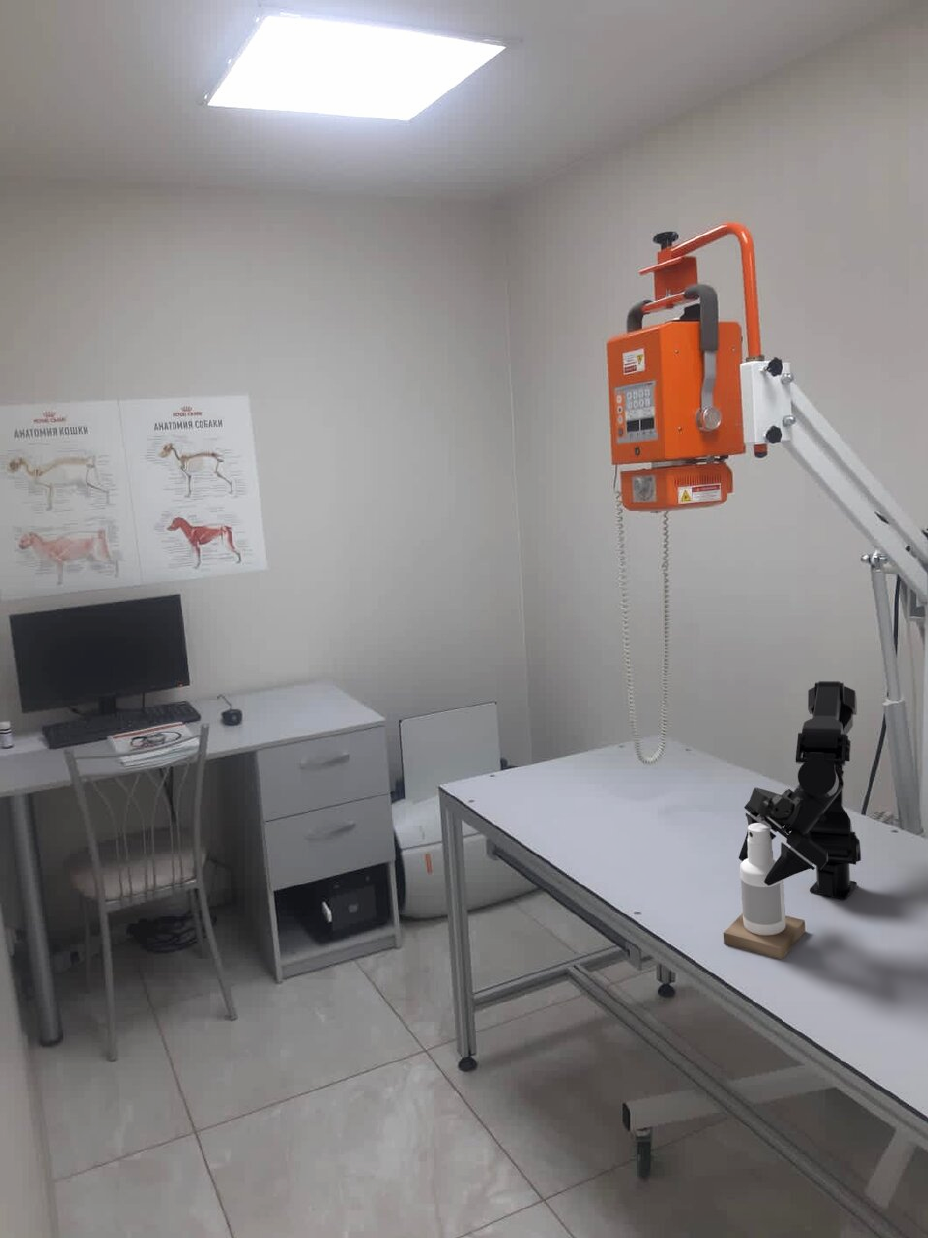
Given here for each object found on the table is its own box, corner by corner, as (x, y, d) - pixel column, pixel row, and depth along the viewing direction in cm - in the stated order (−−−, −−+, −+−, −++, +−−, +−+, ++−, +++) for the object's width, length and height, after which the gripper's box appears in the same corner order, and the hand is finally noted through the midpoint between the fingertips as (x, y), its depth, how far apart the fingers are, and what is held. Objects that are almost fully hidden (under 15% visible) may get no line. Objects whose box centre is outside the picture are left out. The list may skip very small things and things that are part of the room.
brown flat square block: (749, 916, 173) (748, 906, 172) (805, 931, 166) (804, 920, 166) (724, 943, 165) (723, 933, 165) (781, 959, 159) (781, 948, 158)
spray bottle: (735, 923, 167) (728, 825, 164) (767, 911, 170) (761, 815, 166) (761, 941, 161) (755, 839, 157) (794, 929, 163) (789, 829, 160)
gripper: (751, 753, 169) (695, 824, 170) (806, 792, 151) (744, 870, 152) (796, 788, 172) (741, 858, 173) (855, 830, 154) (793, 907, 155)
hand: (753, 871), depth 163 cm, fingers open, 9 cm apart
